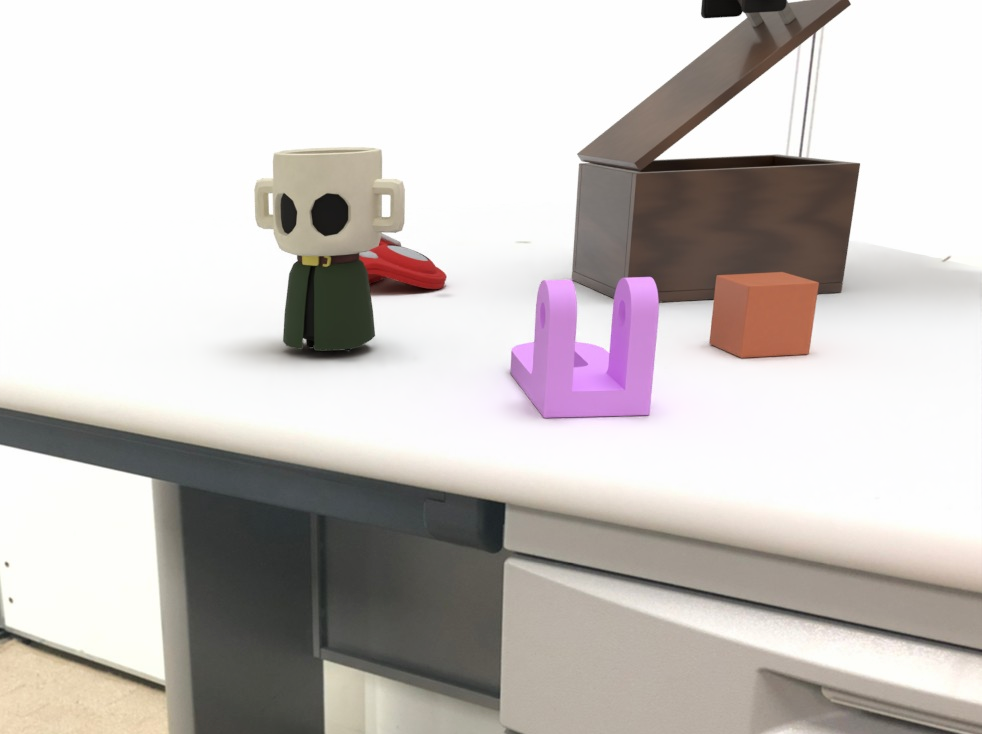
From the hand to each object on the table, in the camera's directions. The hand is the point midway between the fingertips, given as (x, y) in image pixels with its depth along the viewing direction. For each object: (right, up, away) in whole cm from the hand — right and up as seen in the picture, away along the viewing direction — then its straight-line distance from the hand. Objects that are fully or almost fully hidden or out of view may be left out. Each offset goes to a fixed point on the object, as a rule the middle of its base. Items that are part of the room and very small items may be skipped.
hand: (741, 12), depth 92 cm
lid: (-2, -5, +2) cm, 6 cm away
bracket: (-20, -32, -22) cm, 44 cm away
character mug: (-33, -28, -10) cm, 44 cm away
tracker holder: (-25, -18, +14) cm, 34 cm away
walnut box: (0, -19, +8) cm, 21 cm away
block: (-5, -29, -15) cm, 33 cm away
